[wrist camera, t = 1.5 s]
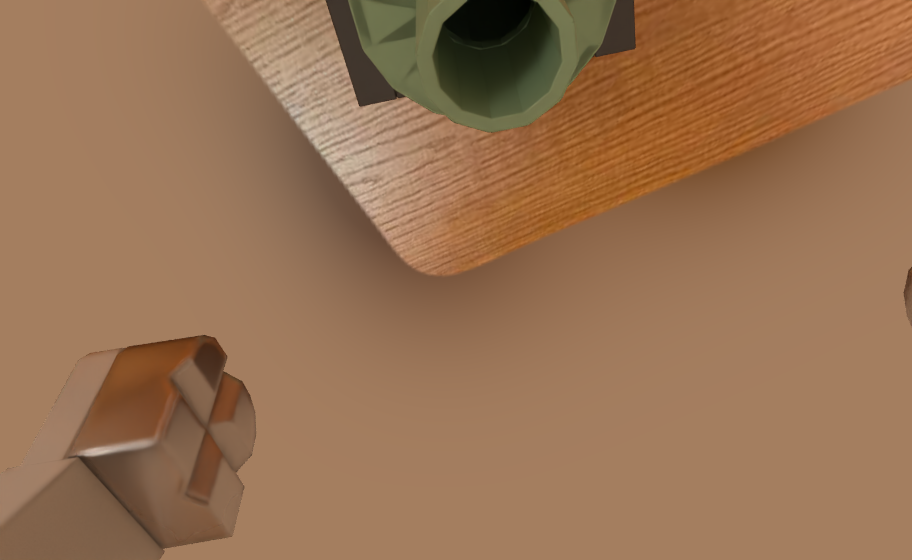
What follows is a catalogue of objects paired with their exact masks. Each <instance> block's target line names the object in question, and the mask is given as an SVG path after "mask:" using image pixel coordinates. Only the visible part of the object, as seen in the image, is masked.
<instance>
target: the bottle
mask: <svg viewBox="0 0 912 560" xmlns="http://www.w3.org/2000/svg"><path fill="white" fill-rule="evenodd" d="M348 2H349V5H350V9H351V12H352V16H353V19H354V22H355V26H356V29H357V32H358V36H359V39H360V43H361V46H362V49H363V50H364V52H365V53H366V55H367V56H368V57H369V59H370V60H371V61H372V62H373V64H374V65H375V66H376V67H377V69H378V70H379V71H380V73H381V74H382V75H383V76H384V78H385V79H386V80H387V81H388V83H389V84H390V85H391V87H392V88H393V89H395V90H396V91H397V92H399V93H401V94H403V95H404V96H406V97H408V98H409V99H411V100H413V101H415V102H416V103H418V104H420V105H421V106H423V107H425V108H427V109H428V110H430V111H432V112H433V113H436V114H442V115H446V116H447V117H448V118H449V119H450V120H451V121H453V122H454V123H457V124H461V125H464V126H468V127H471V128H475V129H478V130H482V131H485V132H491V133H493V132H498V131H502V130H507V129H512V128H517V127H522V126H527V125H529V124H531V123H533V122H534V121H535V120H536V119H538V118H539V117H540V116H541V115H543V114H544V113H545V112H547V111H548V110H549V109H550V108H552V107H553V106H554V105H555V104H557V103H558V102H559V101H560V100H561V99H562V98H563V95H564V93H565V91H566V89H567V87H568V86H569V85H570V84H571V83H572V82H573V80H574V79H575V78H576V77H577V75H578V74H579V73H580V72H581V70H582V69H583V68H584V67H585V65H586V64H587V63H588V62H589V60H590V59H591V58H592V56H593V55H594V54H595V53H596V51H597V50H598V49H599V48H600V46H601V44H602V42H603V39H604V36H605V33H606V30H607V27H608V24H609V21H610V18H611V15H612V12H613V9H614V6H615V3H616V0H348Z"/></svg>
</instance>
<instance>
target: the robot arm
mask: <svg viewBox="0 0 912 560" xmlns="http://www.w3.org/2000/svg"><path fill="white" fill-rule="evenodd" d="M904 298H905V306H906V312H907V317H908V319H909V321H910V324H911V326H912V267H911V268H910V270H909V271H908V276H907V280H906V285H905V289H904ZM226 360H227V355H226V354H225V352H224V351H223V349H222V348H221V346H220V345H219V343H218V342H217V340H216V339H215V338H214V337H210V336H206V335H202V336H195V337H188V338H182V339H175V340H168V341H162V342H156V343H149V344H142V345H136V346H129V347H127V348H120V349H114V350H108V351H101V352H94V353H90V354H88V355H86V356H85V357H83V358H81V359H80V360H78V362H77V363H76V365H75V367H74V369H73V371H72V372H71V374H70V376H69V378H68V380H67V382H66V384H65V385H64V387H63V389H62V391H61V393H60V394H59V396H58V398H57V400H56V402H55V404H54V405H53V407H52V409H51V411H50V413H49V415H48V417H47V418H46V420H45V422H44V424H43V425H42V427H41V429H40V431H39V433H38V435H37V436H36V439H35V440H34V442H33V444H32V446H31V447H30V449H29V451H28V453H27V455H26V457H25V459H24V460H23V462H22V464H21V466H19V467H13V468H7V469H6V470H5V471H4V472H2V474H0V560H159V559H160V558H161V557H162V555H163V554H164V550H163V549H164V548H170V547H176V546H181V545H187V544H193V543H199V542H204V541H210V540H216V539H222V538H227V537H232V536H233V532H234V528H235V524H236V519H237V515H238V511H239V507H240V503H241V499H242V494H243V490H244V485H243V483H242V482H241V480H240V479H239V477H238V475H237V474H236V472H237V471H238V470H239V469H240V467H241V466H242V465H243V464H244V463H245V462H246V461H247V460H248V458H250V456H251V455H252V452H253V447H254V443H255V438H256V422H255V410H254V406H253V403H252V400H251V397H250V394H249V393H248V391H247V389H246V387H245V386H244V384H243V382H242V381H240V380H239V379H237V378H235V377H233V376H231V375H229V374H228V373H226V372H224V371H223V370H224V367H225V363H226Z"/></svg>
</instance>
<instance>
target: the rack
mask: <svg viewBox="0 0 912 560" xmlns="http://www.w3.org/2000/svg"><path fill="white" fill-rule="evenodd" d="M326 3H327V6H328V9H329V12H330V15H331V18H332V22H333V25H334V28H335V31H336V34H337V37H338V40H339V44H340V47H341V50H342V53H343V56H344V59H345V63H346V66H347V69H348V72H349V75H350V78H351V82H352V85H353V88H354V91H355V94H356V97H357V100H358V104H359V106H365V105H370V104H375V103H380V102H384V101H389V100H394V99H397V97H398V98H402V97H406V96H404V95H403V94H401V93H399V92H397V91H396V90H395V89H393V88H392V87H391V85H390V84H389V83H388V81H387V80H386V79H385V78H384V76H383V75H382V74H381V73H380V71H379V70H378V69H377V67H376V66H375V65H374V64H373V62H372V61H371V60H370V59H369V57H368V56H367V55H366V53H365V52H364V50H363V49H362V46H361V43H360V39H359V36H358V32H357V29H356V26H355V22H354V19H353V16H352V12H351V9H350V5H349V2H348V0H326ZM635 48H636V44H635V18H634V0H616V3H615V6H614V9H613V12H612V15H611V18H610V21H609V24H608V27H607V30H606V33H605V36H604V39H603V42H602V44H601V46H600V48H599V49H598V50H597V51H596V53H595V54H594V55H595V56H596V57H598V56H603V55H608V54H613V53H617V52H622V51H627V50H632V49H635ZM594 55H593V56H592V57H594Z"/></svg>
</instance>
